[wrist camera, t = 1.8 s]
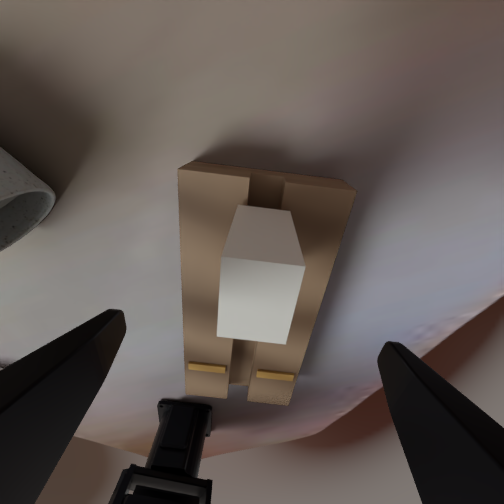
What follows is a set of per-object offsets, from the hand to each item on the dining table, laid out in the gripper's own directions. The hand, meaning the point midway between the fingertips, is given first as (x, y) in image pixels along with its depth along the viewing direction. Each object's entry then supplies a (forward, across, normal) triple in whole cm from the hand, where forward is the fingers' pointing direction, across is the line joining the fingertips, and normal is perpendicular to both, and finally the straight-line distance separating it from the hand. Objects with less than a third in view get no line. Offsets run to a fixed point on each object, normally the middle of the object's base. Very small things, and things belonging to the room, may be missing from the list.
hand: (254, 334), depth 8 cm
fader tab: (+9, 0, 0) cm, 9 cm away
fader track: (+11, 0, +7) cm, 13 cm away
